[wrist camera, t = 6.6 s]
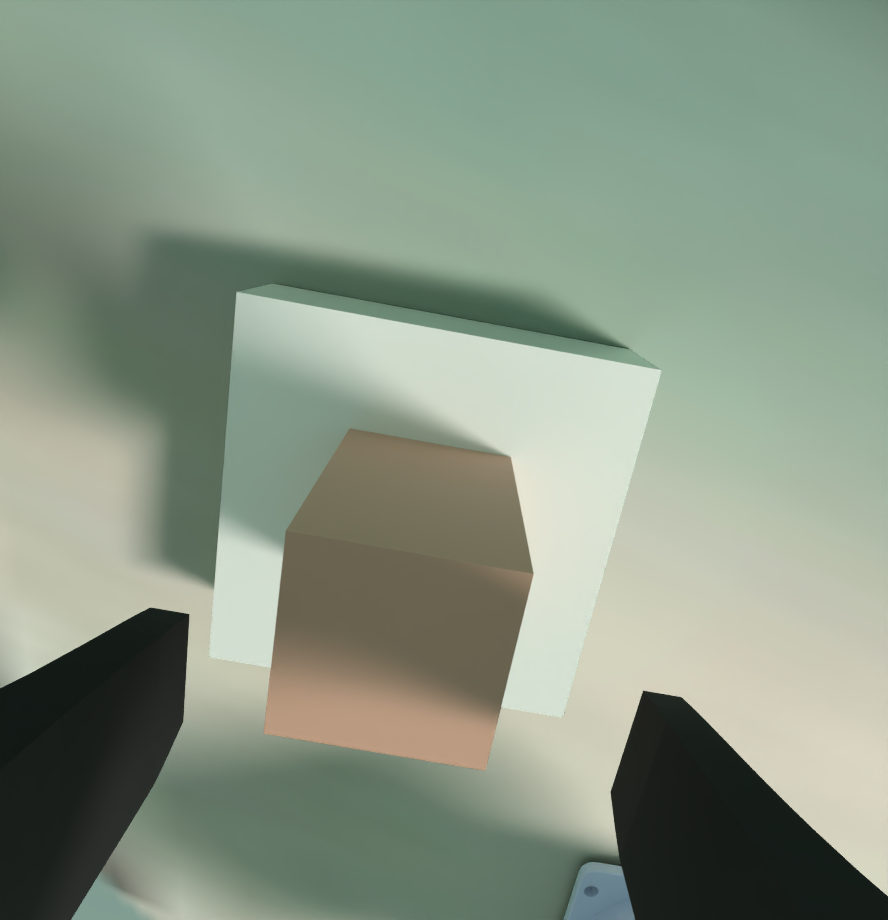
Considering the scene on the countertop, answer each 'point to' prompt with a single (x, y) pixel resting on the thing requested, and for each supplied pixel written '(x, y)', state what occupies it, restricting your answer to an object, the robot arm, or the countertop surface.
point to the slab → (435, 421)
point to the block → (401, 602)
